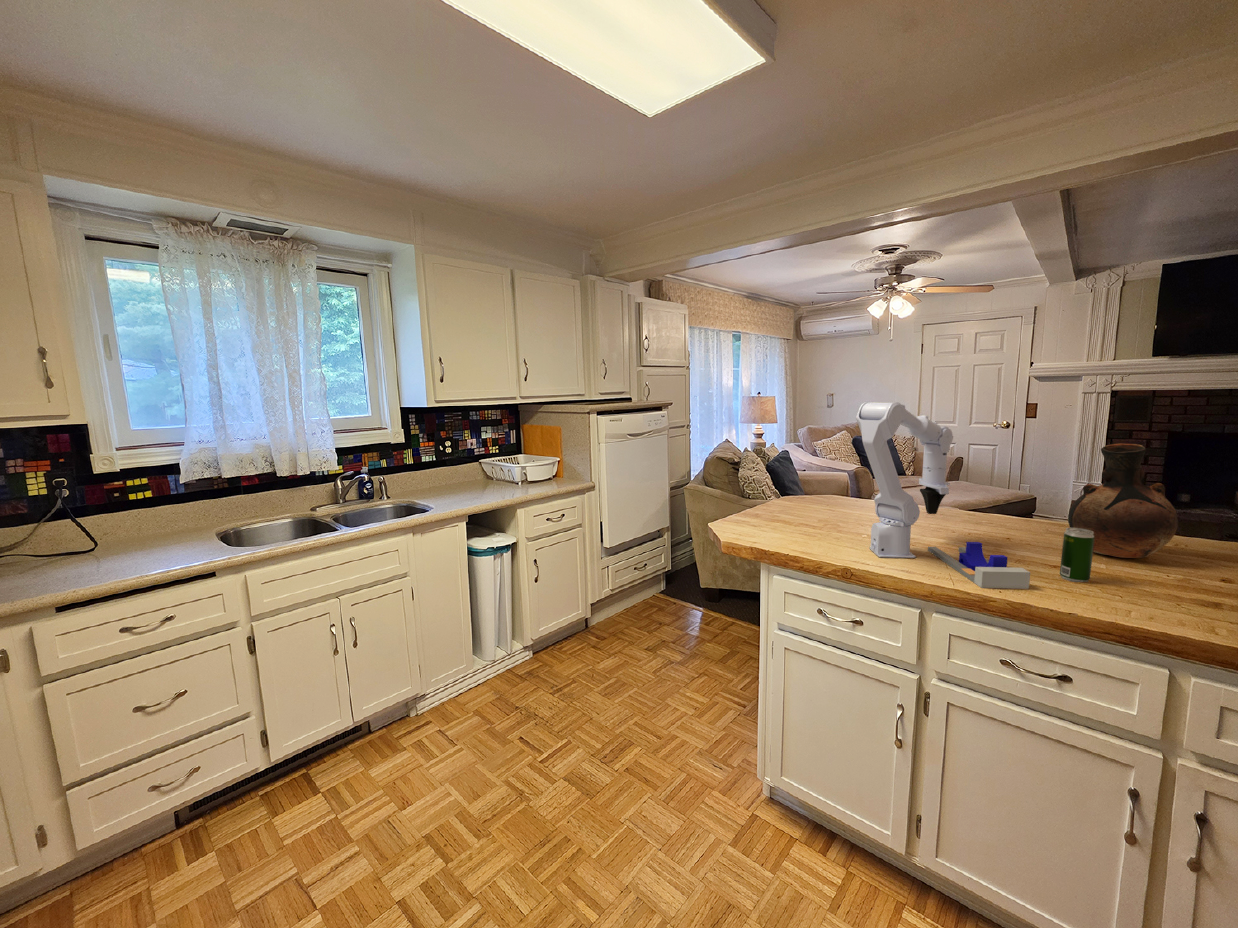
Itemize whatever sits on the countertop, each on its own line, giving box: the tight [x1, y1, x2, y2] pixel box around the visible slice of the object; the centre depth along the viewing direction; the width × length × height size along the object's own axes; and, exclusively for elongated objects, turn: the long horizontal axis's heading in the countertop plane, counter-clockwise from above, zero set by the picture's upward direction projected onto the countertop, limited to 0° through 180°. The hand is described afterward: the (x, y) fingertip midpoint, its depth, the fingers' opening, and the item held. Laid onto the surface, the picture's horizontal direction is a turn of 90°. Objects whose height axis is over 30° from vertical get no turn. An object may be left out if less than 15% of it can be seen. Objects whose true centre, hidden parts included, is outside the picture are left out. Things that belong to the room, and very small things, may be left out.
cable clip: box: [958, 541, 1008, 571], centre depth 127 cm, size 12×4×6 cm, turn 172°
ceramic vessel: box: [1067, 443, 1179, 559], centre depth 133 cm, size 21×18×30 cm
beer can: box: [1059, 527, 1095, 583], centre depth 120 cm, size 5×5×12 cm
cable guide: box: [927, 546, 1031, 590], centre depth 129 cm, size 10×27×4 cm, turn 172°
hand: (931, 513), depth 147 cm, fingers closed
